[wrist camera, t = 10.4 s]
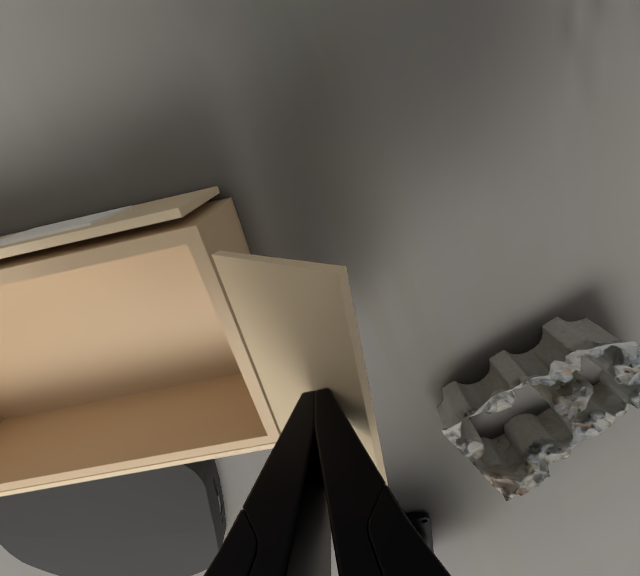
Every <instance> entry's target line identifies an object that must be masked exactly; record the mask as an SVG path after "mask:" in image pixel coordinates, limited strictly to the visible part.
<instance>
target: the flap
mask: <svg viewBox="0 0 640 576" xmlns="http://www.w3.org/2000/svg"><path fill="white" fill-rule="evenodd" d="M211 255H212V257H213V260H214V262H215V265H216V267H217V270H218V273H219V275H220V278H221V280H222V283H223V285H224V288H225V290H226V293H227V296H228V298H229V301H230V303H231V306H232V308H233V311H234V314H235V316H236V319H237V321H238V324H239V326H240V329H241V331H242V334H243V337H244V339H245V342H246V344H247V347H248V349H249V352H250V354H251V357H252V360H253V362H254V365H255V367H256V370H257V372H258V375H259V378H260V380H261V383H262V385H263V388H264V390H265V393H266V395H267V398H268V401H269V403H270V406H271V408H272V411H273V413H274V416H275V419H276V421H277V424H278V426H279V429H280V431H281V432H282V430H283V429H284V427H285V425H286V423H287V421H288V419H289V417H290V415H291V413H292V411H293V409H294V407H295V406H296V404H297V402H298V400H299V398H300V396H301V394H302V393H303V392H308V391H313V390H315V391H316V390H318V389H323V388H329V389H330V390H331V392H332V394H333V395H334V397H335V399H336V400H337V402H338V404H339V405H340V407H341V409H342V410H343V412H344V414H345V415H346V417H347V419H348V420H349V422H350V424H351V425H352V427H353V429H354V430H355V432H356V434H357V435H358V437H359V439H360V441H361V442H362V444H363V446H364V447H365V449H366V451H367V452H368V454H369V456H370V457H371V459H372V461H373V462H374V464H375V466H376V467H377V469H378V471H379V472H380V474H381V476H382V477H383V479H384V481H385V482H386V485H387V486H388V483H387V478H386V472H385V467H384V462H383V457H382V452H381V446H380V441H379V436H378V431H377V425H376V420H375V415H374V410H373V404H372V399H371V394H370V389H369V383H368V378H367V373H366V368H365V362H364V357H363V352H362V347H361V341H360V336H359V331H358V326H357V320H356V315H355V310H354V305H353V299H352V294H351V289H350V284H349V278H348V273H347V268H346V266H340V265H332V264H324V263H316V262H308V261H300V260H292V259H284V258H276V257H268V256H259V255H251V254H243V253H235V252H227V251H218V252H216V253H214V254H211Z"/></svg>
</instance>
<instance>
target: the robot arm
mask: <svg viewBox="0 0 640 576" xmlns="http://www.w3.org/2000/svg"><path fill="white" fill-rule="evenodd" d="M331 532H332V538H333V544H334V550H335V556H336V562H337V568H338V574H339V576H451V575H450V574H449V573H448V571H447V570H446V569H445V567H444V566H443V565H442V564H441V562H440V561H439V560H438V558H437V557H436V556H435V554H434V550H433V540H432V530H431V520H430V517H429V514H428V513H426V512H420V513H414V514H408V515H406V514H405V513H404V511H403V510H402V508H401V507H400V505H399V503H398V502H397V500H396V499H395V497H394V495H393V494H392V492H391V490H390V489H389V487H388V486H387V485H386V482H385V481H384V479H383V477H382V476H381V474H380V472H379V471H378V469H377V467H376V466H375V464H374V462H373V461H372V459H371V457H370V456H369V454H368V452H367V451H366V449H365V447H364V446H363V444H362V442H361V441H360V439H359V437H358V435H357V434H356V432H355V430H354V429H353V427H352V425H351V424H350V422H349V420H348V419H347V417H346V415H345V414H344V412H343V410H342V409H341V407H340V405H339V404H338V402H337V400H336V399H335V397H334V395H333V394H332V392H331V390H330V389H329V388H323V389H318V390H316V391H315V390H313V391H308V392H303V393H302V394H301V396H300V398H299V400H298V402H297V404H296V406H295V407H294V409H293V411H292V413H291V415H290V417H289V419H288V421H287V423H286V425H285V427H284V429H283V430H282V432H281V434H280V436H279V438H278V440H277V442H276V444H275V446H274V448H273V450H272V451H271V453H270V455H269V457H268V459H267V461H266V463H265V465H264V467H263V469H262V471H261V473H260V474H259V476H258V478H257V480H256V482H255V484H254V486H253V488H252V490H251V492H250V494H249V496H248V497H247V499H246V501H245V503H244V505H243V510H240V512H239V514H238V516H237V518H236V520H235V522H234V524H233V526H232V528H231V529H230V531H229V533H228V535H227V537H226V539H225V540H224V542H223V544H222V546H221V548H220V549H219V551H218V553H217V555H216V556H215V558H214V559H213V561H212V563H211V564H210V566H209V568H208V569H207V571H206V573H205V574H204V576H331Z"/></svg>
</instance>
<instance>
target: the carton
mask: <svg viewBox="0 0 640 576" xmlns="http://www.w3.org/2000/svg"><path fill="white" fill-rule="evenodd" d="M219 193H220V192H219V189H218V186H215V187H211V188H207V189H202V190H198V191H194V192H189V193H185V194H181V195H177V196H172V197H168V198H164V199H159V200H155V201H151V202H146V203H142V204H138V205H134V206H132V205H131V206H127V207H122V208H118V209H114V210H109V211H105V212H101V213H97V214H92V215H88V216H84V217H79V218H75V219H71V220H67V221H62V222H58V223H54V224H49V225H45V226H41V227H37V228H33V229H30V230H26V231H22V232H18V233H13V234H9V235H5V236H1V237H0V497H1V496H7V495H13V494H18V493H24V492H30V491H35V490H41V489H46V488H52V487H58V486H63V485H69V484H75V483H80V482H86V481H91V480H97V479H103V478H108V477H114V476H119V475H125V474H131V473H136V472H142V471H148V470H153V469H159V468H164V467H170V466H176V465H181V464H187V463H193V462H198V461H204V460H209V459H215V458H221V457H226V456H232V455H237V454H243V453H249V452H254V451H260V450H266V449H271V448H274V446H275V444H276V442H277V440H278V438H279V436H280V434H281V431H280V429H279V426H278V424H277V421H276V419H275V416H274V413H273V411H272V408H271V406H270V403H269V401H268V398H267V395H266V393H265V390H264V388H263V385H262V383H261V380H260V378H259V375H258V372H257V370H256V367H255V365H254V362H253V360H252V357H251V354H250V352H249V349H248V347H247V344H246V342H245V339H244V337H243V334H242V331H241V329H240V326H239V324H238V321H237V319H236V316H235V314H234V311H233V308H232V306H231V303H230V301H229V298H228V296H227V293H226V290H225V288H224V285H223V283H222V280H221V278H220V275H219V273H218V270H217V267H216V265H215V262H214V260H213V257H212V255H211V254H214V253H216V252H218V251H227V252H235V253H243V254H250V251H249V248H248V245H247V242H246V238H245V235H244V232H243V229H242V226H241V223H240V220H239V217H238V214H237V211H236V208H235V205H234V202H233V199H232V197H229V198H225V199H220V200H216V201H212V202H207V201H208V200H210V199H211V198H213V197H214V196H216V195H217V194H219ZM205 202H207V203H205Z"/></svg>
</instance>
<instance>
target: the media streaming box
mask: <svg viewBox="0 0 640 576" xmlns="http://www.w3.org/2000/svg"><path fill="white" fill-rule="evenodd" d="M225 529H226V521H225V511H224V503H223V496H222V491H221V486H220V481H219V477H218V472H217V469H216V465H215V461H214V459H209V460H204V461H198V462H193V463H187V464H181V465H176V466H170V467H164V468H159V469H153V470H148V471H142V472H136V473H131V474H125V475H119V476H114V477H108V478H103V479H97V480H91V481H86V482H80V483H75V484H69V485H63V486H58V487H52V488H46V489H41V490H35V491H30V492H24V493H18V494H13V495H7V496H1V497H0V544H1V545H2V546H3V547H4V548H5V549H6V550H7V551H8V552H9V553H10V554H12V555H13V556H14V557H16V558H17V559H19V560H20V561H22V562H24V563H26V564H28V565H30V566H33V567H35V568H38V569H41V570H44V571H46V572H49V573H52V574H56V575H59V576H191V575H194V574H197V573H199V572H202V571H204V570H206V569H208V568H209V566H210V564H211V563H212V561H213V559H214V558H215V556H216V555H217V553H218V551H219V549H220V548H221V546H222V544H223V539H224V534H225Z"/></svg>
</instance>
